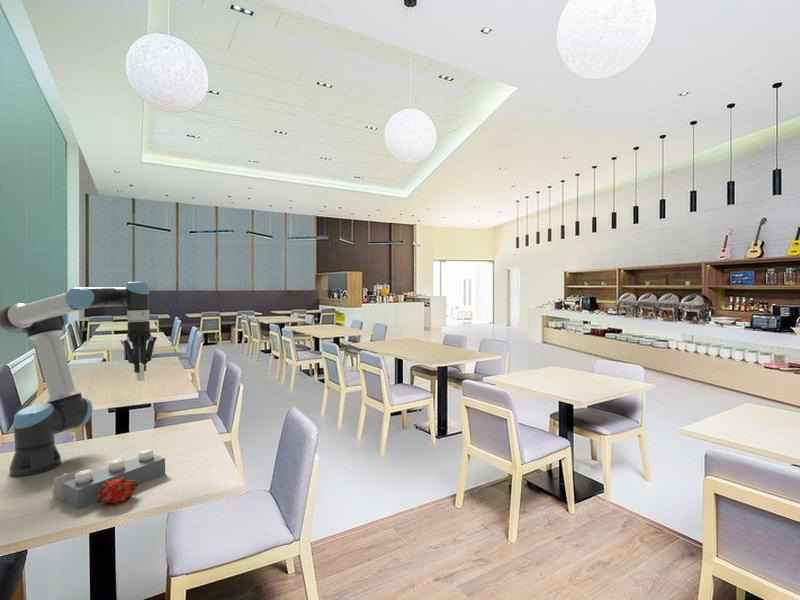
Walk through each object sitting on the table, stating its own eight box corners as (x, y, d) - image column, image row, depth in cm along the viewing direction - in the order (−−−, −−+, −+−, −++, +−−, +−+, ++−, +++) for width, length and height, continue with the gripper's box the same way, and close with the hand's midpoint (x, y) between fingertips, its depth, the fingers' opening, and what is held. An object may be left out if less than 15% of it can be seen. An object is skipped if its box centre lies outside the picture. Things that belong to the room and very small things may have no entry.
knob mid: (106, 485, 148) (106, 462, 147) (121, 480, 152) (120, 457, 151) (113, 488, 145) (113, 465, 145) (128, 482, 149) (127, 460, 149)
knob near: (73, 498, 139) (72, 473, 139) (89, 492, 143) (88, 468, 143) (80, 501, 137) (79, 476, 137) (96, 495, 141) (95, 471, 140)
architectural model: (50, 497, 142) (50, 475, 142) (76, 489, 148) (75, 468, 148) (54, 500, 140) (53, 478, 140) (79, 492, 146) (78, 470, 146)
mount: (63, 501, 139) (62, 482, 139) (149, 468, 163) (149, 453, 163) (78, 508, 134) (77, 489, 134) (165, 474, 158) (164, 458, 158)
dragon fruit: (92, 514, 134) (135, 504, 143) (101, 504, 130) (144, 495, 139) (90, 486, 138) (132, 479, 147) (99, 476, 134) (141, 469, 143)
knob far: (136, 474, 156) (136, 452, 156) (149, 469, 160) (148, 448, 160) (143, 476, 154) (143, 455, 154) (156, 471, 158) (155, 450, 158)
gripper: (126, 322, 161) (128, 384, 162) (160, 319, 173) (162, 377, 173) (115, 321, 165) (118, 382, 166) (149, 319, 176) (151, 376, 177)
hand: (140, 380), depth 170 cm, fingers closed
